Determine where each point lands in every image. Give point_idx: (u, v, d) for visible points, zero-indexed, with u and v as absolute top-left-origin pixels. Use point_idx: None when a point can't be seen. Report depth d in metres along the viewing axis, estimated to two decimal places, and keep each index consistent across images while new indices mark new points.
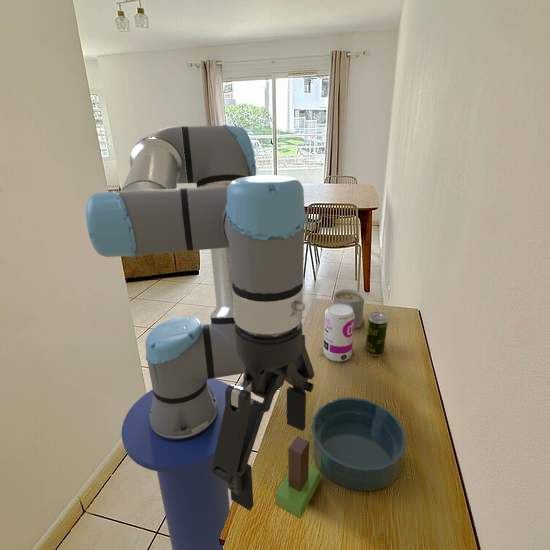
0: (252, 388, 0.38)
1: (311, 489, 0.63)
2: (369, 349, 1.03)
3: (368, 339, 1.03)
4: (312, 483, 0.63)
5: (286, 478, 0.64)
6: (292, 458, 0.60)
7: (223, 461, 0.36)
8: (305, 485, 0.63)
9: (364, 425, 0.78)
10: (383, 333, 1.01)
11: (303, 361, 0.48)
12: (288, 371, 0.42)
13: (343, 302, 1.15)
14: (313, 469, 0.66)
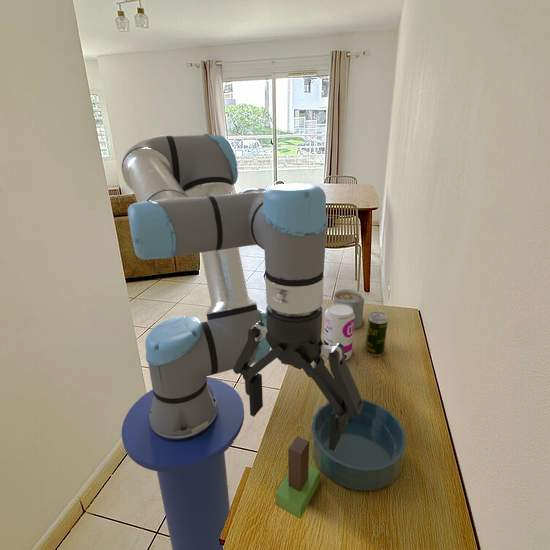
0: (265, 336, 0.51)
1: (311, 489, 0.63)
2: (369, 349, 1.03)
3: (368, 339, 1.03)
4: (312, 483, 0.63)
5: (286, 478, 0.64)
6: (292, 458, 0.60)
7: None
8: (305, 485, 0.63)
9: (364, 425, 0.78)
10: (383, 333, 1.01)
11: None
12: (294, 356, 0.48)
13: (343, 302, 1.15)
14: (313, 469, 0.66)
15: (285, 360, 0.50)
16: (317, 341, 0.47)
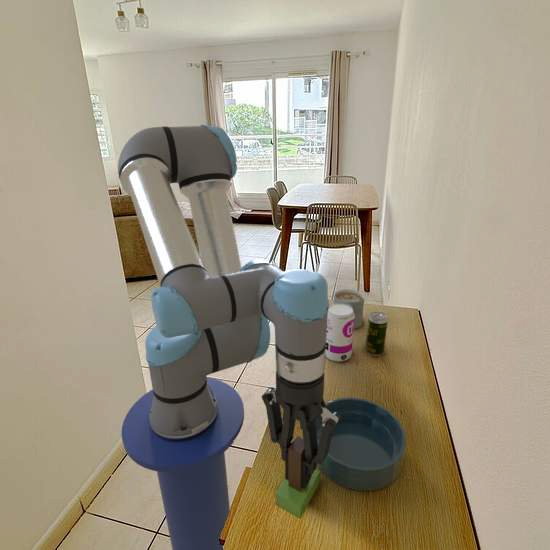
0: (276, 396, 0.59)
1: (311, 489, 0.63)
2: (369, 349, 1.03)
3: (368, 339, 1.03)
4: (312, 483, 0.63)
5: None
6: (292, 458, 0.60)
7: None
8: None
9: (364, 425, 0.78)
10: (383, 333, 1.01)
11: (320, 438, 0.56)
12: (298, 413, 0.55)
13: (343, 302, 1.15)
14: None
15: (292, 415, 0.57)
16: (320, 402, 0.54)
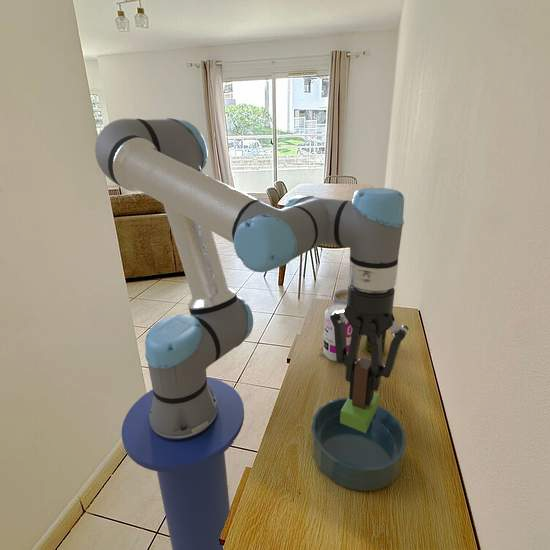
0: (344, 315, 0.63)
1: (373, 408, 0.67)
2: (369, 349, 1.03)
3: (368, 339, 1.03)
4: (374, 403, 0.68)
5: (348, 399, 0.68)
6: (358, 375, 0.64)
7: None
8: None
9: None
10: (383, 333, 1.01)
11: (389, 350, 0.60)
12: (369, 326, 0.59)
13: (343, 302, 1.15)
14: None
15: (360, 331, 0.61)
16: (390, 314, 0.58)
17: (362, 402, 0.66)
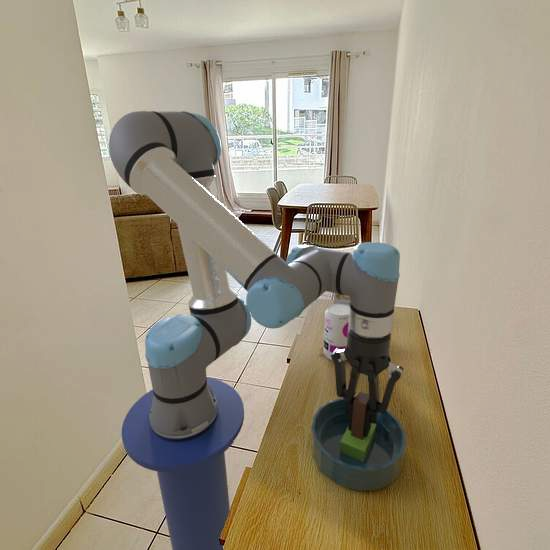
0: (344, 354, 0.68)
1: (371, 438, 0.72)
2: None
3: None
4: (371, 433, 0.72)
5: (348, 430, 0.73)
6: (357, 409, 0.69)
7: None
8: None
9: None
10: None
11: None
12: (367, 366, 0.64)
13: (343, 302, 1.15)
14: None
15: (359, 370, 0.66)
16: (387, 356, 0.63)
17: (360, 433, 0.71)
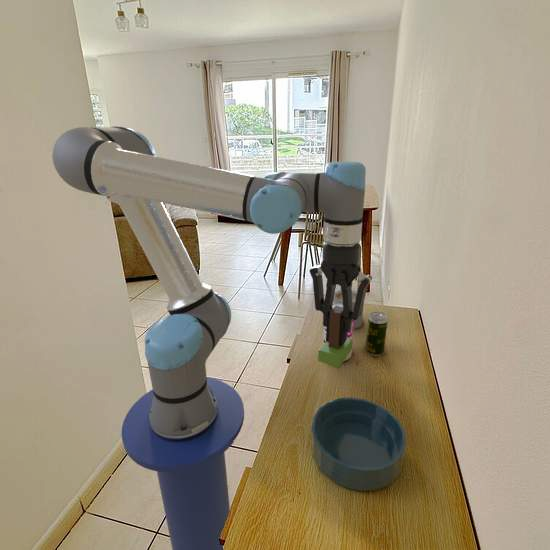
0: (321, 269, 0.76)
1: (346, 349, 0.80)
2: (369, 349, 1.03)
3: (368, 339, 1.03)
4: (347, 345, 0.81)
5: (326, 342, 0.82)
6: (332, 319, 0.77)
7: None
8: (341, 346, 0.80)
9: (364, 425, 0.78)
10: (383, 333, 1.01)
11: (356, 296, 0.73)
12: (340, 275, 0.72)
13: None
14: (346, 338, 0.83)
15: (334, 281, 0.75)
16: (357, 265, 0.71)
17: (336, 343, 0.79)
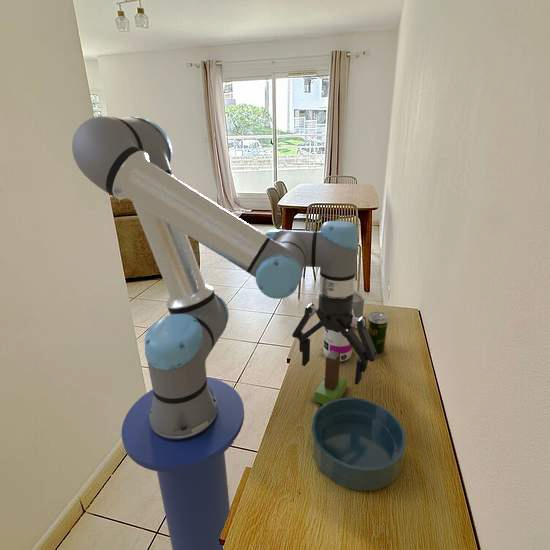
0: (316, 312, 0.82)
1: (341, 390, 0.87)
2: None
3: None
4: (341, 386, 0.87)
5: (322, 383, 0.88)
6: (328, 364, 0.84)
7: None
8: (336, 387, 0.87)
9: (364, 425, 0.78)
10: (383, 333, 1.01)
11: (361, 339, 0.77)
12: (335, 324, 0.78)
13: None
14: (341, 378, 0.90)
15: (328, 327, 0.81)
16: (350, 314, 0.77)
17: (332, 385, 0.85)
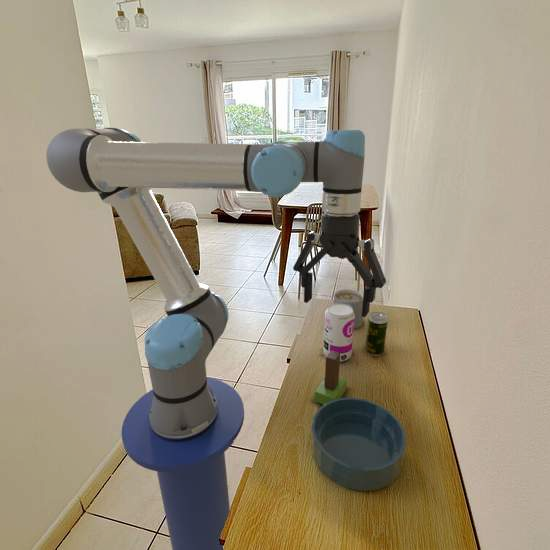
0: (318, 238, 0.75)
1: (341, 390, 0.87)
2: (369, 349, 1.03)
3: (368, 339, 1.03)
4: (341, 386, 0.87)
5: (322, 383, 0.88)
6: (328, 364, 0.84)
7: None
8: (336, 387, 0.87)
9: (364, 425, 0.78)
10: (383, 333, 1.01)
11: (368, 263, 0.71)
12: (340, 248, 0.72)
13: (343, 302, 1.15)
14: (341, 378, 0.90)
15: (333, 253, 0.74)
16: (356, 236, 0.71)
17: (332, 385, 0.85)
